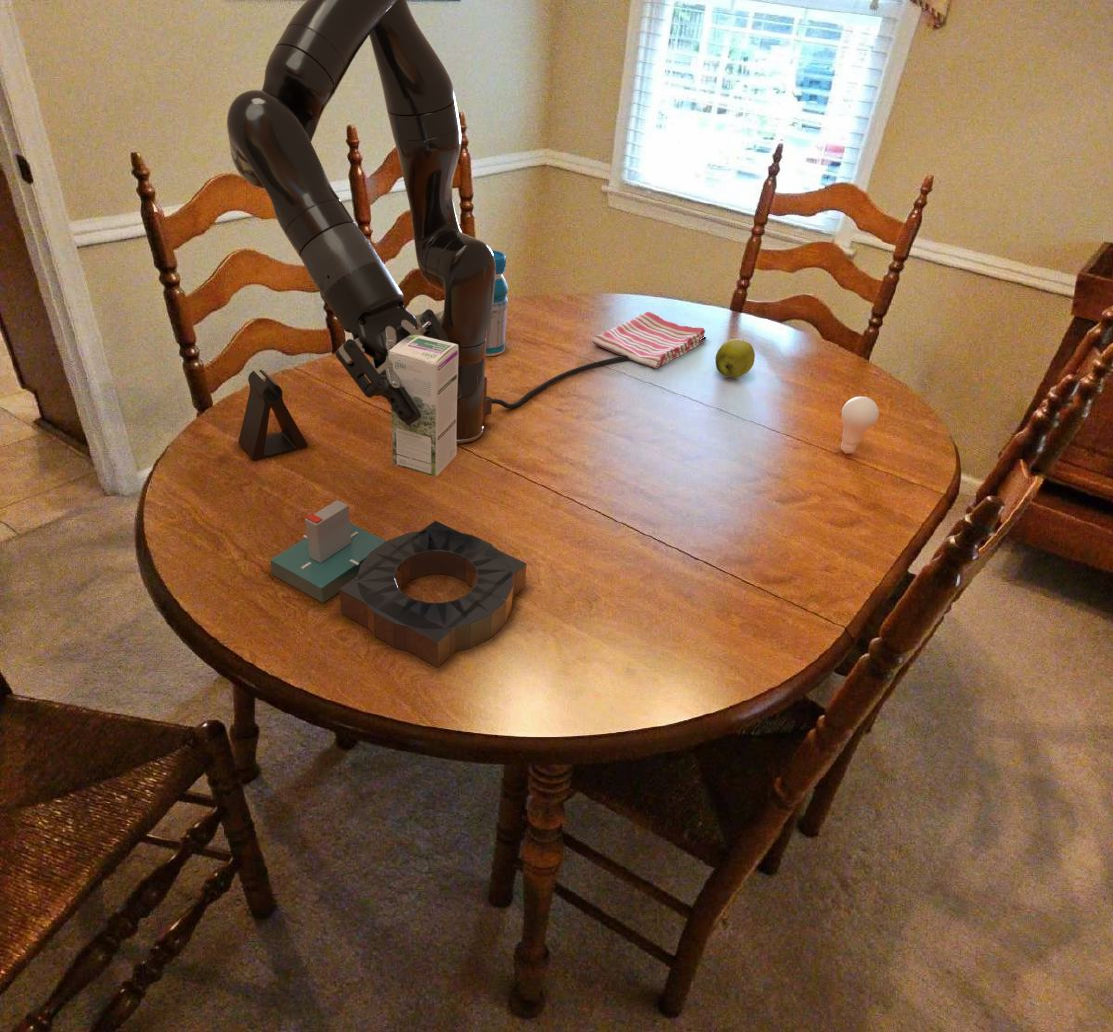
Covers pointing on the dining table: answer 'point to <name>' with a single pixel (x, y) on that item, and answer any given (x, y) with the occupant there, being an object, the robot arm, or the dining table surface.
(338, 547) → the tap handle
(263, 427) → the phone stand
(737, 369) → the apple
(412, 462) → the syrup box
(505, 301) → the beverage bottle
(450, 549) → the dark grey ring block
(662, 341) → the dish towel
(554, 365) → the dining table surface
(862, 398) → the lightbulb
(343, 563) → the block
